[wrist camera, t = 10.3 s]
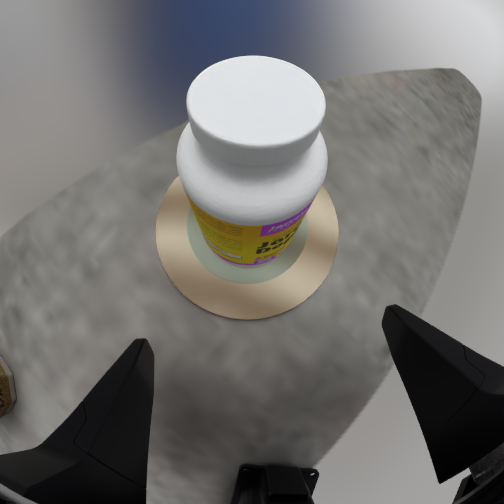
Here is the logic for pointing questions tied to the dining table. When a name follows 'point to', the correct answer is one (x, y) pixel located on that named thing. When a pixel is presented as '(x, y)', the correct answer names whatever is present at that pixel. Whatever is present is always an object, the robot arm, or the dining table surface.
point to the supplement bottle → (252, 155)
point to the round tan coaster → (245, 278)
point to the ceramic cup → (6, 388)
